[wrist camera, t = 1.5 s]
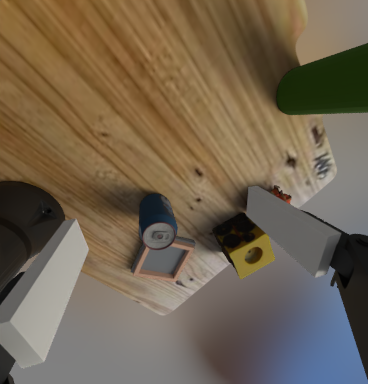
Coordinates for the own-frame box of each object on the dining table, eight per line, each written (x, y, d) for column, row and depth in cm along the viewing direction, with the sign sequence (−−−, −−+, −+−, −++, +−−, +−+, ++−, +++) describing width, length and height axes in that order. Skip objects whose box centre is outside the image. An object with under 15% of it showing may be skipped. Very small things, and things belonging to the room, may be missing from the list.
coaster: (131, 268, 45) (130, 276, 43) (148, 228, 42) (149, 235, 39) (174, 275, 50) (176, 283, 47) (194, 240, 46) (197, 247, 44)
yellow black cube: (222, 252, 51) (239, 281, 42) (210, 228, 46) (227, 254, 37) (252, 236, 51) (276, 261, 42) (243, 210, 46) (268, 232, 37)
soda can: (137, 216, 40) (135, 252, 29) (142, 189, 38) (141, 217, 27) (166, 219, 42) (174, 253, 31) (172, 193, 39) (183, 221, 29)
